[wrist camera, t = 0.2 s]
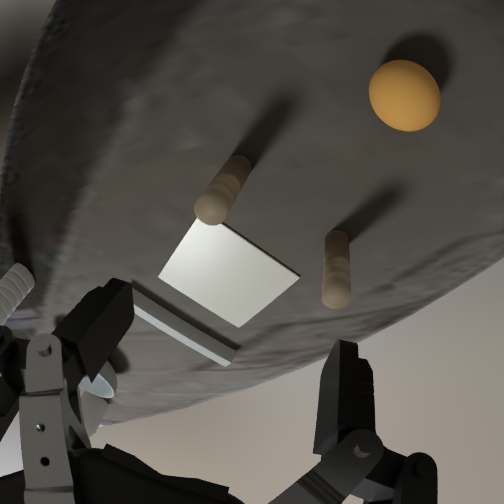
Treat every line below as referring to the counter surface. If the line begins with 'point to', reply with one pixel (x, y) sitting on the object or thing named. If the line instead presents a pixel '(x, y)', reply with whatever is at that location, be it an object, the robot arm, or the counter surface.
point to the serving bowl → (102, 382)
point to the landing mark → (225, 273)
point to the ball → (404, 95)
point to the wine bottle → (92, 411)
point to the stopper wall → (181, 330)
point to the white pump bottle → (14, 289)
